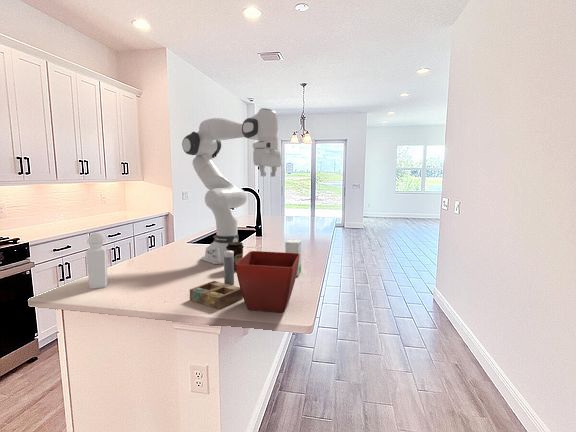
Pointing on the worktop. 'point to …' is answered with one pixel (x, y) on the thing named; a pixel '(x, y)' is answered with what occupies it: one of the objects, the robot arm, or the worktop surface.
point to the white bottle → (96, 261)
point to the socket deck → (216, 294)
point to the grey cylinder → (229, 267)
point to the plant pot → (267, 279)
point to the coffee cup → (236, 251)
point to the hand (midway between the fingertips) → (268, 176)
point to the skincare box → (294, 251)
